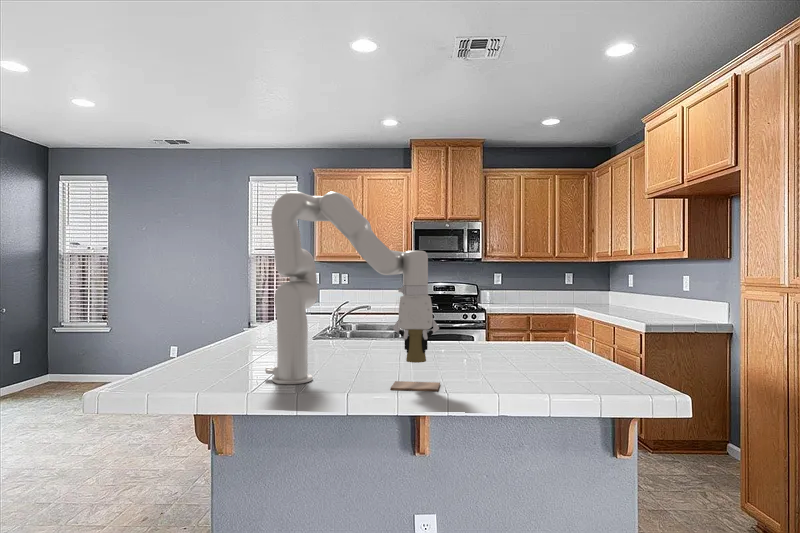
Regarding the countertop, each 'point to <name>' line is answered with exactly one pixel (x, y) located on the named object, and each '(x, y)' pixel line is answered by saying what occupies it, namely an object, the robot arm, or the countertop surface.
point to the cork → (415, 347)
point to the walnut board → (415, 386)
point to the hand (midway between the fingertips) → (416, 351)
